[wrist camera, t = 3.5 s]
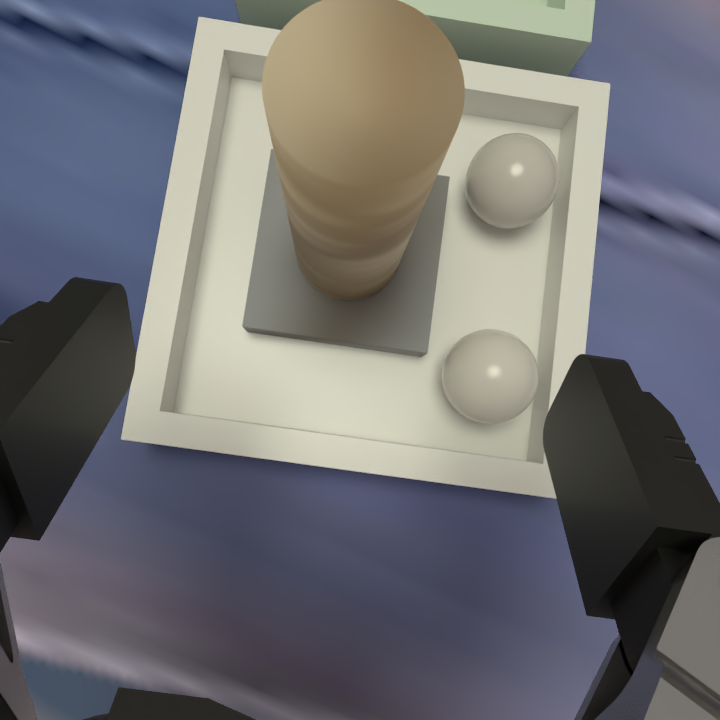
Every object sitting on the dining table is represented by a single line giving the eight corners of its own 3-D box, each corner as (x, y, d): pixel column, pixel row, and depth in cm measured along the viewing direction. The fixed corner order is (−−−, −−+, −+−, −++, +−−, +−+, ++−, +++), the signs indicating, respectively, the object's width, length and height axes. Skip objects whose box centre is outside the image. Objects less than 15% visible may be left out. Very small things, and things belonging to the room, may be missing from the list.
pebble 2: (428, 417, 19) (446, 416, 16) (439, 330, 19) (459, 314, 16) (515, 429, 19) (549, 431, 16) (524, 343, 20) (559, 329, 17)
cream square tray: (147, 436, 20) (120, 439, 17) (214, 64, 21) (198, 16, 19) (541, 490, 20) (571, 500, 18) (578, 122, 22) (610, 83, 19)
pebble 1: (451, 233, 20) (472, 200, 17) (461, 153, 20) (483, 107, 17) (534, 246, 20) (570, 215, 17) (543, 166, 20) (579, 122, 17)
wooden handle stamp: (247, 332, 19) (152, 232, 9) (275, 165, 20) (215, -103, 10) (421, 357, 19) (521, 288, 9) (442, 190, 20) (557, -45, 10)
